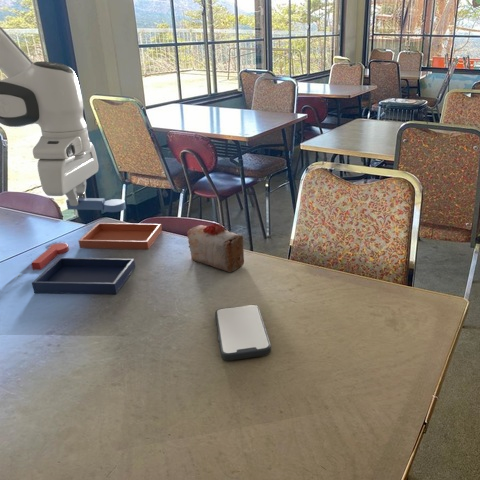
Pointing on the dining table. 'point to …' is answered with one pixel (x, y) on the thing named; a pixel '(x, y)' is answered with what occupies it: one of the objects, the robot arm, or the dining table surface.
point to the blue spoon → (98, 204)
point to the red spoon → (49, 255)
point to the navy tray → (84, 276)
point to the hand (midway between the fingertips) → (78, 202)
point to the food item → (216, 247)
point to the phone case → (241, 332)
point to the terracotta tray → (121, 236)
